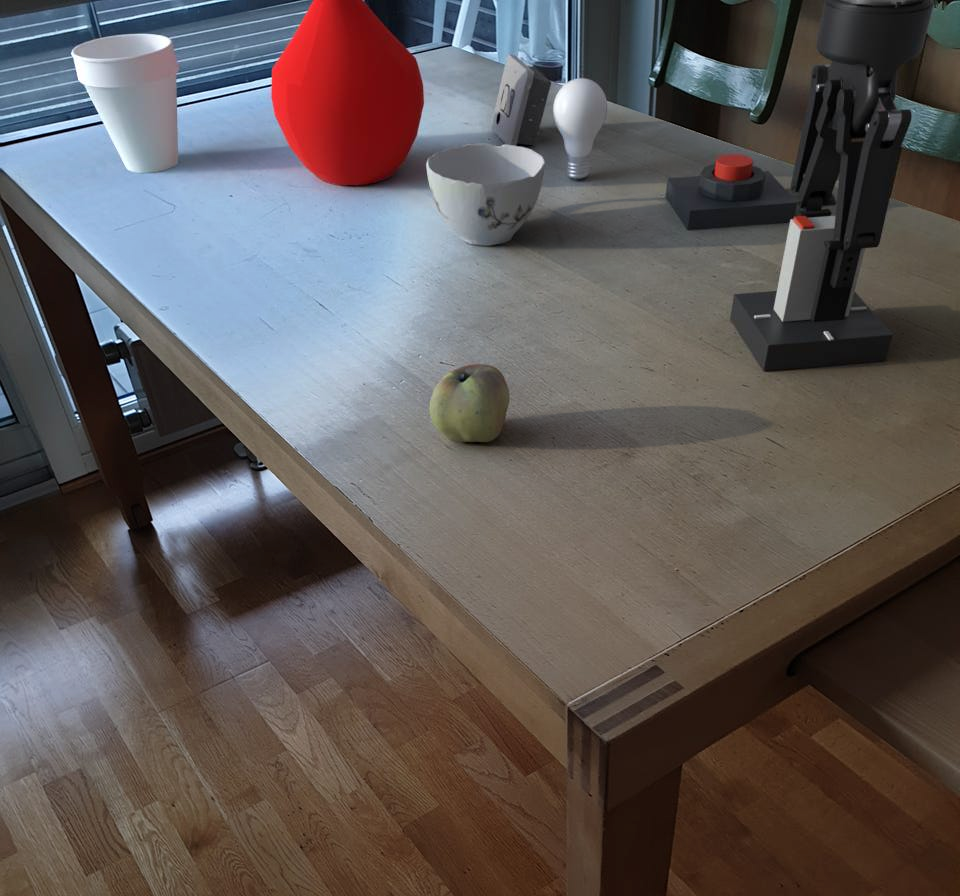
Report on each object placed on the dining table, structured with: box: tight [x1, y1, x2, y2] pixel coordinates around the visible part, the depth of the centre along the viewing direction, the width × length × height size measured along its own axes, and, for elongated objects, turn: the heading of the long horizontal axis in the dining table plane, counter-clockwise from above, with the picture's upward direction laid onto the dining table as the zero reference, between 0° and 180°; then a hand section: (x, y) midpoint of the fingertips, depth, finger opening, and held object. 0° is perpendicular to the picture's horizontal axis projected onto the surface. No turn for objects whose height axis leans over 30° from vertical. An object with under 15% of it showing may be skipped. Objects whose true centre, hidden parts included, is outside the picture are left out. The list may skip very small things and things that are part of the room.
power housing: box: [665, 163, 798, 232], centre depth 108 cm, size 12×10×4 cm
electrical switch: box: [491, 54, 552, 147], centre depth 127 cm, size 9×5×9 cm, turn 15°
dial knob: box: [774, 215, 866, 322], centre depth 83 cm, size 6×2×8 cm, turn 96°
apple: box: [428, 363, 511, 443], centre depth 76 cm, size 6×8×6 cm
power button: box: [714, 153, 754, 181], centre depth 107 cm, size 4×4×2 cm
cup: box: [70, 33, 180, 174], centre depth 123 cm, size 12×12×14 cm
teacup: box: [425, 143, 546, 247], centre depth 105 cm, size 15×12×8 cm
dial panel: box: [729, 290, 893, 372], centre depth 87 cm, size 11×10×3 cm
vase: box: [270, 0, 425, 186], centre depth 112 cm, size 18×18×30 cm
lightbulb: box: [552, 77, 608, 181], centre depth 114 cm, size 6×6×11 cm
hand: (813, 300), depth 85 cm, fingers open, 6 cm apart
